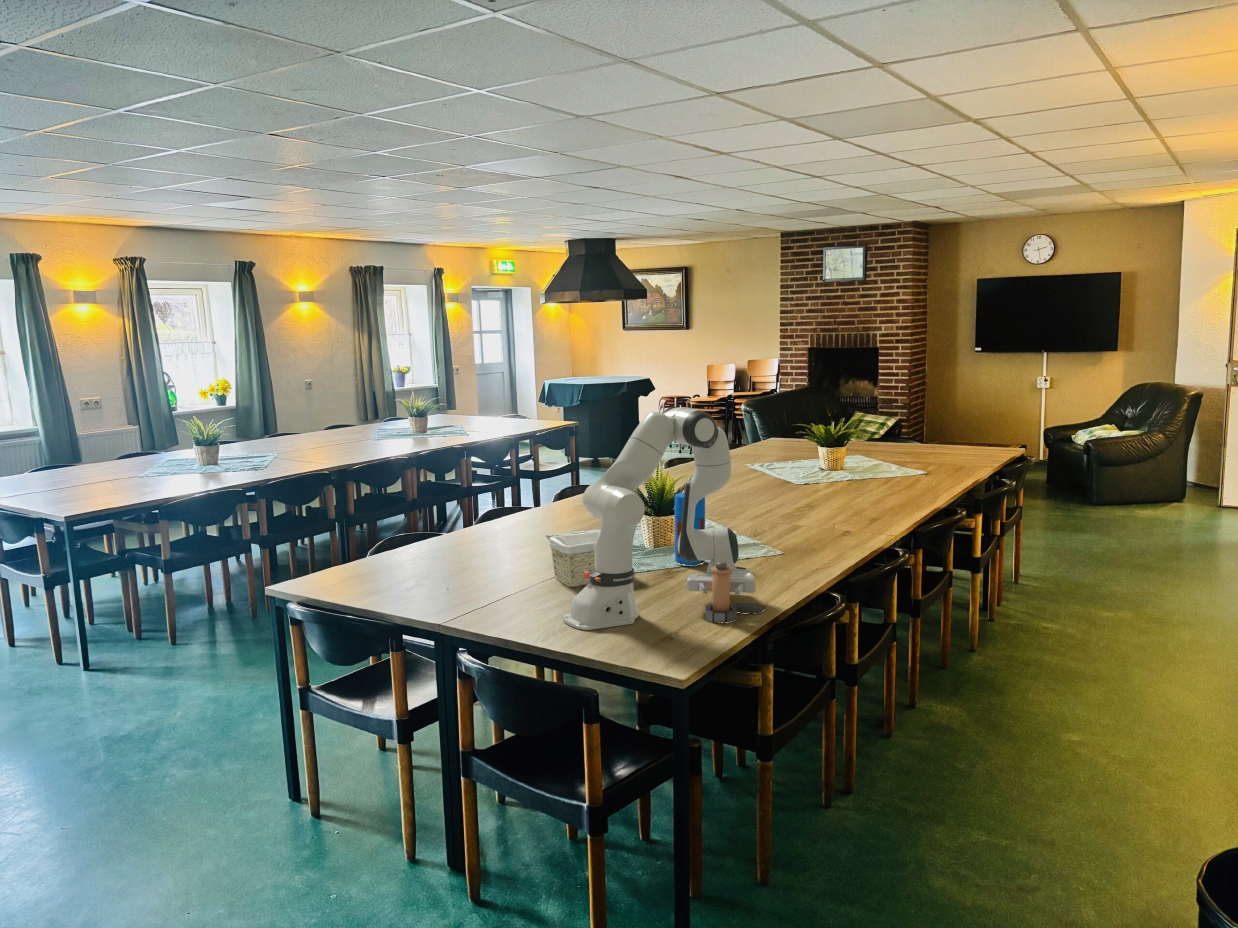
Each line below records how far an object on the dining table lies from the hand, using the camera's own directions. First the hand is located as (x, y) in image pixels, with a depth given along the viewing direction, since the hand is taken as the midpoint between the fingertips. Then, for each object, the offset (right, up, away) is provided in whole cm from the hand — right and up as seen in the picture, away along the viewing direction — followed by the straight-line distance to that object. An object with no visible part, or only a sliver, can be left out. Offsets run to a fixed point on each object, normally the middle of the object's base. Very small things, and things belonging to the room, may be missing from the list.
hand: (721, 590), depth 254 cm
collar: (0, -8, +2) cm, 9 cm away
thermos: (-4, +1, +64) cm, 65 cm away
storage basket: (-39, -3, +46) cm, 61 cm away
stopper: (0, -8, +2) cm, 9 cm away
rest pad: (+9, -7, +10) cm, 15 cm away
